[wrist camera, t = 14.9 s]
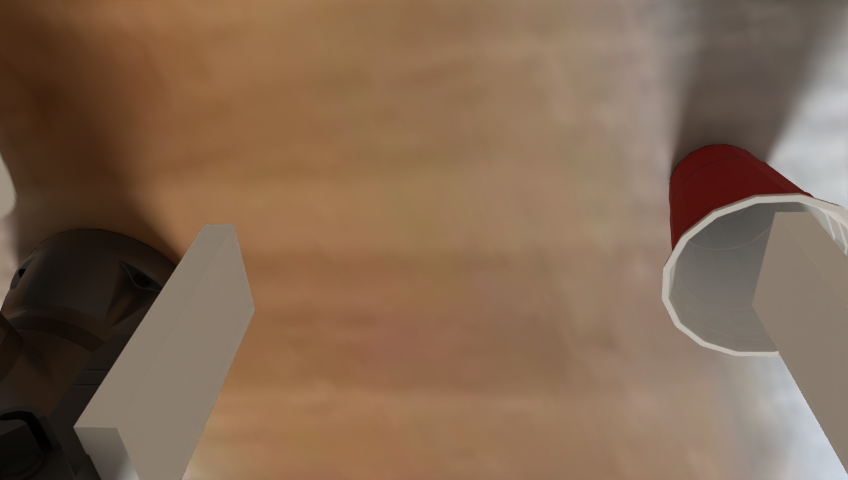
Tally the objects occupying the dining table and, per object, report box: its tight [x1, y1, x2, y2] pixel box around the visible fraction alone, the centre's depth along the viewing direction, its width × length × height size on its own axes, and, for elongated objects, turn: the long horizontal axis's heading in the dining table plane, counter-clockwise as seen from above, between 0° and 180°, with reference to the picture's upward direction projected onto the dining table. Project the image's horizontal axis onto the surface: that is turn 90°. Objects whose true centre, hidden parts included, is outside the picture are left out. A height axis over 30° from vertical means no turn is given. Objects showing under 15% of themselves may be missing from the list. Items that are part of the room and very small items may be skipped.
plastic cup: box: [662, 144, 848, 356], centre depth 41 cm, size 11×11×12 cm
